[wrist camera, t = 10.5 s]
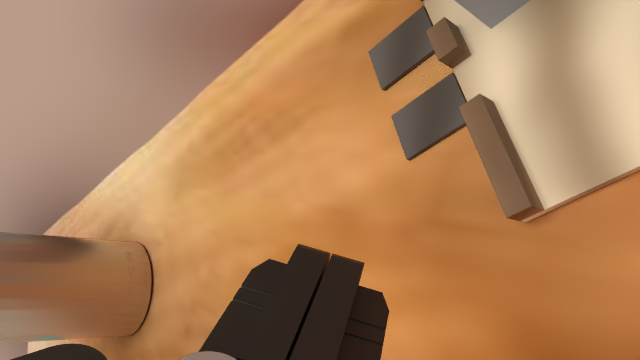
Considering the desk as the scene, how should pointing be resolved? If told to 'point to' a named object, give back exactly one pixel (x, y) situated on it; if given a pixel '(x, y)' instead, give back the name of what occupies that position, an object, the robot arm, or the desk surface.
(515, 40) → the trap lane
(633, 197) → the desk surface
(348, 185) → the desk surface
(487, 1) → the block
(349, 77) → the desk surface
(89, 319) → the robot arm
